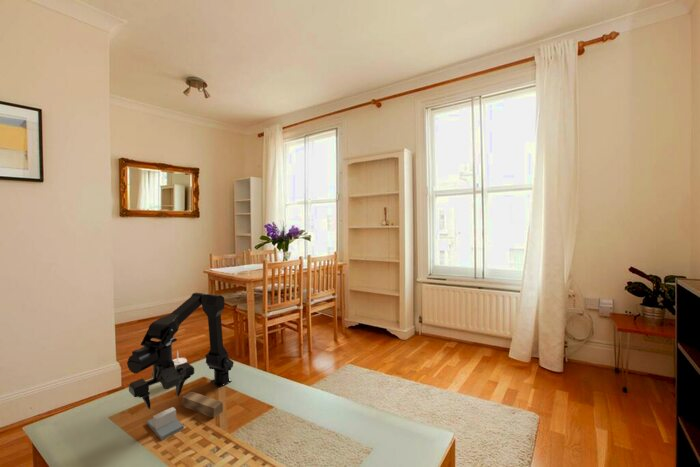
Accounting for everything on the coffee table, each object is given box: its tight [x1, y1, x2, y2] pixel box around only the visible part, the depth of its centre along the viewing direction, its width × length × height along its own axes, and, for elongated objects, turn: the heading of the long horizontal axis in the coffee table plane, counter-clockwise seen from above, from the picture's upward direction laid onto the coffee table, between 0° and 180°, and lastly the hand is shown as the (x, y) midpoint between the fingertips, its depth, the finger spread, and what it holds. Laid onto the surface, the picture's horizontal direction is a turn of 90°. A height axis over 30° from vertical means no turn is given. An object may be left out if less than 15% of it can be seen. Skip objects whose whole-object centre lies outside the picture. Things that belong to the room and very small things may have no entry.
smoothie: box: [172, 350, 188, 368], centre depth 136 cm, size 6×6×14 cm
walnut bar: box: [182, 391, 224, 419], centre depth 120 cm, size 16×4×4 cm, turn 67°
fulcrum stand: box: [146, 406, 185, 441], centre depth 110 cm, size 12×7×5 cm, turn 52°
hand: (164, 402), depth 109 cm, fingers open, 9 cm apart
